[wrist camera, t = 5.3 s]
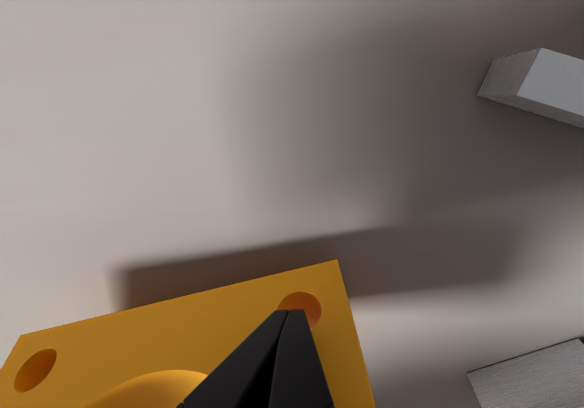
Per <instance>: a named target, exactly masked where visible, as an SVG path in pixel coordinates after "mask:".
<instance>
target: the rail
mask: <svg viewBox="0 0 584 408" xmlns="http://www.w3.org/2000/svg"><path fill="white" fill-rule="evenodd" d="M477 96H480V97H483V98H487V99H490V100H493V101H496V102H500V103H503V104H506V105H509V106H512V107H516V108H519V109H522V110H525V111H529V112H532V113H535V114H538V115H541V116H545V117H548V118H551V119H554V120H558V121H561V122H564V123H567V124H570V125H574V126H577V127H580V128H583V129H584V60H582V59H578V58H575V57H572V56H569V55H565V54H562V53H559V52H555V51H552V50H549V49H545V48H542V47H541V48H537V49H533V50H529V51H525V52H521V53H517V54H513V55H508V56H504V57H500V58H496V59H494V60H493V62H492V64H491V66H490V69H489V71H488V73H487V75H486V77H485V79H484V81H483V83H482V85H481V87H480V89H479V91H478V93H477ZM466 374H467V376H468V378H469V380H470V383H471V385H472V387H473V389H474V391H475V394H476V396H477V398H478V400H479V403H480V405H481V407H482V408H584V344H583V343H582V342H581V341H580V340H579V339H578V338H577V339H574V340H571V341H568V342H565V343H562V344H558V345H555V346H552V347H549V348H546V349H543V350H539V351H536V352H533V353H530V354H527V355H524V356H520V357H517V358H514V359H511V360H508V361H505V362H501V363H498V364H495V365H492V366H489V367H485V368H482V369H479V370H476V371H473V372H470V373H466Z"/></svg>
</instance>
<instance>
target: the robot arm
mask: <svg viewBox="0 0 584 408" xmlns="http://www.w3.org/2000/svg"><path fill="white" fill-rule="evenodd" d="M175 408H335V406H334V402H333V398H332V395H331V392H330V389H329V386H328V383H327V380H326V376H325V373H324V370H323V367H322V364H321V361H320V357H319V354H318V351H317V348H316V345H315V342H314V339H313V335H312V332H311V329H310V326H309V323H308V320H307V316H306V313H305V311H304V309H291V310H287V309H286V310H275V311H273V312H272V313H271V314H270V315H269V316H268V317H267V318H266V319H265V320H264V321H263V322H262V323H261V324H260V325H259V326H258V327H257V328H256V329H255V330H254V331H253V332H252V333H251V334H250V335H249V336H248V337H247V338H246V339H245V340H244V341H243V342H242V343H241V344H240V345H239V346H238V347H237V348H236V349H235V350H234V351H233V352H232V353H231V354H230V355H228V356H227V357H226V358H225V359H224V360H223V361H222V362H221V363H220V364H219V365H218V366H217V367H216V368H215V369H214V370H213V371H212V372H211V373H210V374H209V375H208V376H207V377H206V378H205V379H204V380H203V381H202V382H201V383H200V384H199V385H198V386H197V387H196V388H195V389H194V390H193V391H192V392H191V393H190V394H189V395H188V396H187V397H186V398H185V399H184V400H183V403H182V402H181V403H179V404H178V405H177V406H176V407H175Z"/></svg>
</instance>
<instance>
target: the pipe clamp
mask: <svg viewBox="0 0 584 408" xmlns="http://www.w3.org/2000/svg"><path fill="white" fill-rule="evenodd" d="M286 309H287V310H291V309H304V311H305V313H306V316H307V320H308V323H309V326H310V329H311V328H312V329H311V332H312V335H313V339H314V342H315V345H316V348H317V351H318V354H319V357H320V361H321V364H322V367H323V370H324V373H325V376H326V380H327V383H328V386H329V389H330V392H331V395H332V398H333V402H334V406H335V408H376V404H375V401H374V397H373V393H372V389H371V385H370V381H369V377H368V374H367V370H366V366H365V362H364V358H363V354H362V350H361V347H360V343H359V339H358V335H357V331H356V327H355V324H354V320H353V316H352V312H351V308H350V304H349V300H348V297H347V293H346V289H345V285H344V282H343V278H342V274H341V271H340V267H339V263H338V259H336V260H331V261H327V262H323V263H319V264H315V265H311V266H307V267H302V268H298V269H294V270H290V271H286V272H282V273H277V274H273V275H269V276H265V277H261V278H257V279H253V280H248V281H244V282H240V283H236V284H232V285H228V286H224V287H219V288H215V289H211V290H207V291H203V292H199V293H194V294H190V295H186V296H182V297H178V298H174V299H170V300H165V301H161V302H157V303H153V304H149V305H145V306H140V307H136V308H132V309H128V310H124V311H120V312H116V313H111V314H107V315H103V316H99V317H95V318H91V319H86V320H82V321H78V322H74V323H70V324H66V325H62V326H57V327H53V328H49V329H45V330H41V331H37V332H32V333H28V334H24V335H21V336H20V337H19V339H18V341H17V342H16V344H15V346H14V348H13V349H12V351H11V353H10V355H9V356H8V358H7V360H6V362H5V363H4V365H3V367H2V368H1V370H0V408H175V407H176V406H177V405H178V404H179V403H181V402H182V403H183V400H184V399H185V398H186V397H187V396H188V395H189V394H190V393H191V392H192V391H193V390H194V389H195V388H196V387H197V386H198V385H199V384H200V383H201V382H202V381H203V380H204V379H205V378H206V377H207V376H208V375H209V374H210V373H211V372H212V371H213V370H214V369H215V368H216V367H217V366H218V365H219V364H220V363H221V362H222V361H223V360H224V359H225V358H226V357H227V356H228V355H230V354H231V353H232V352H233V351H234V350H235V349H236V348H237V347H238V346H239V345H240V344H241V343H242V342H243V341H244V340H245V339H246V338H247V337H248V336H249V335H250V334H251V333H252V332H253V331H254V330H255V329H256V328H257V327H258V326H259V325H260V324H261V323H262V322H263V321H264V320H265V319H266V318H267V317H268V316H269V315H270V314H271V313H272V312H273V311H275V310H286Z"/></svg>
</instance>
